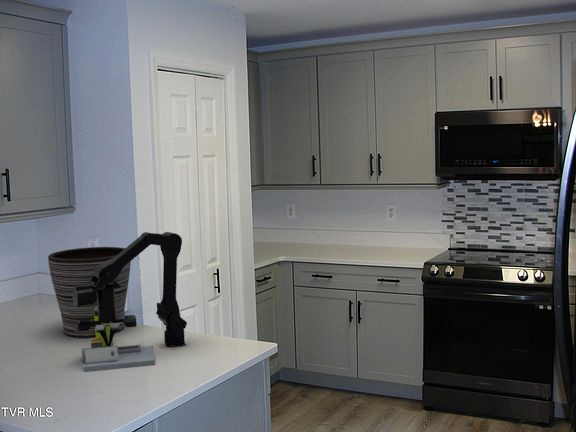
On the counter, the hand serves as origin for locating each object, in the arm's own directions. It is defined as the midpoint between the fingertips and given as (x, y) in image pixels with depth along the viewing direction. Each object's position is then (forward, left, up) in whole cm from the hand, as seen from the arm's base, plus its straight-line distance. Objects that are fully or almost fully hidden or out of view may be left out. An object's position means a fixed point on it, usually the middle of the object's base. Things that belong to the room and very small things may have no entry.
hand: (108, 348), depth 224 cm
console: (-3, +5, -3) cm, 7 cm away
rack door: (+2, +10, -1) cm, 10 cm away
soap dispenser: (+2, -15, -3) cm, 15 cm away
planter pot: (+7, -36, -3) cm, 37 cm away
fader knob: (+4, 0, -1) cm, 4 cm away
